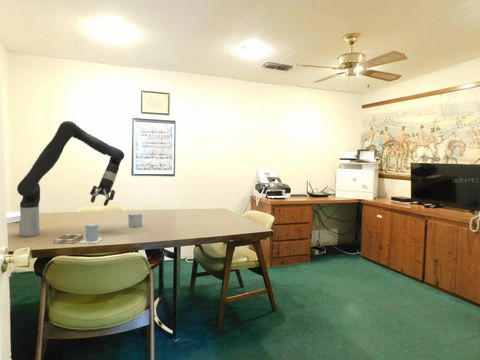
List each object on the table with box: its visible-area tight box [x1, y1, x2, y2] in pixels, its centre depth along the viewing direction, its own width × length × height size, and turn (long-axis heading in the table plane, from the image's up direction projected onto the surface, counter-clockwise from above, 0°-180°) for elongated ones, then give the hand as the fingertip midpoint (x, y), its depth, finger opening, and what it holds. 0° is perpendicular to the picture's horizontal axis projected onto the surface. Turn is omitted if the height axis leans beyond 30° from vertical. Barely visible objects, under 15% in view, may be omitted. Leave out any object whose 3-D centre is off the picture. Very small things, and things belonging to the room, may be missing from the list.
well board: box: [52, 233, 84, 245], centre depth 173 cm, size 11×11×2 cm
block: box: [85, 223, 99, 242], centre depth 173 cm, size 4×4×9 cm
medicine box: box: [127, 212, 143, 229], centre depth 210 cm, size 8×4×9 cm, turn 141°
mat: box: [79, 237, 104, 245], centre depth 174 cm, size 9×10×1 cm
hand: (98, 204), depth 185 cm, fingers open, 8 cm apart
